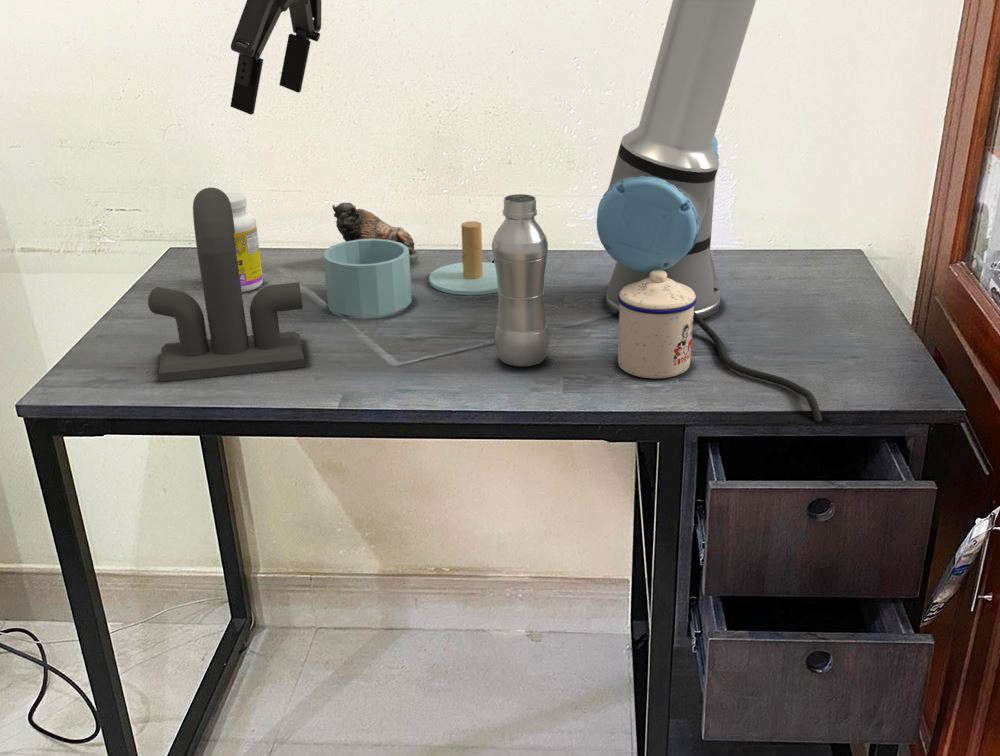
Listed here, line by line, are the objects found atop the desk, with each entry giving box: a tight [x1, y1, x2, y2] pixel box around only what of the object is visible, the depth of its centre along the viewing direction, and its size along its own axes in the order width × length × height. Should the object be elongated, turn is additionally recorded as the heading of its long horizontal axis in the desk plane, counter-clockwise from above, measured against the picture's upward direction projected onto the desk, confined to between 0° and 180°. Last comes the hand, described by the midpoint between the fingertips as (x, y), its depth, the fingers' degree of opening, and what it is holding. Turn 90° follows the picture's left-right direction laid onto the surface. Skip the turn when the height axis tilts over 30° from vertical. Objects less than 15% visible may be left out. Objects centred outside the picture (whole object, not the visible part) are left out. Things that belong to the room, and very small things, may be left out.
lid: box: [428, 220, 499, 296], centre depth 162 cm, size 13×13×9 cm
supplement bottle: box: [224, 192, 264, 293], centre depth 162 cm, size 7×7×13 cm
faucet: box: [147, 187, 306, 383], centre depth 140 cm, size 18×16×20 cm
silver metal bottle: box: [491, 193, 550, 367], centre depth 135 cm, size 6×7×20 cm
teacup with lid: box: [617, 270, 697, 380], centre depth 136 cm, size 12×9×12 cm
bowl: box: [322, 239, 413, 319], centre depth 156 cm, size 11×11×8 cm
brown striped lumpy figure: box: [332, 202, 419, 265], centre depth 168 cm, size 12×7×10 cm, turn 96°
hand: (266, 99), depth 142 cm, fingers open, 13 cm apart
